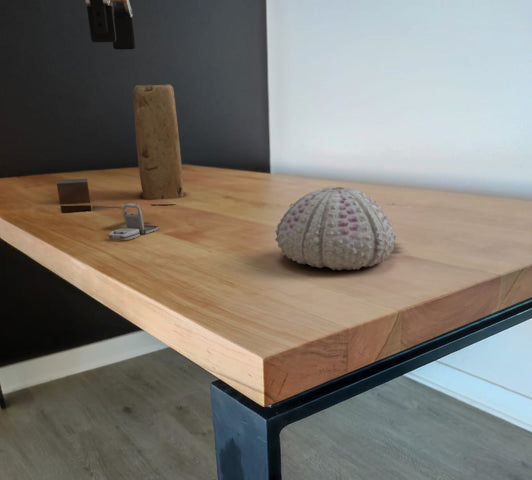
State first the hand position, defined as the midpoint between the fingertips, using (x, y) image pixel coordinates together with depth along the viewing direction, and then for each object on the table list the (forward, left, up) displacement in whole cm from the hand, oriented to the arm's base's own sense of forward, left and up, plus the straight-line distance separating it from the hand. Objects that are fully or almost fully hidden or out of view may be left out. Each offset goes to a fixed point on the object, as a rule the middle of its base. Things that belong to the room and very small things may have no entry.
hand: (115, 45), depth 76 cm
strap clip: (+2, -10, -24) cm, 26 cm away
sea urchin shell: (+30, -25, -24) cm, 46 cm away
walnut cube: (-14, +11, -24) cm, 30 cm away
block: (0, +18, -24) cm, 30 cm away
